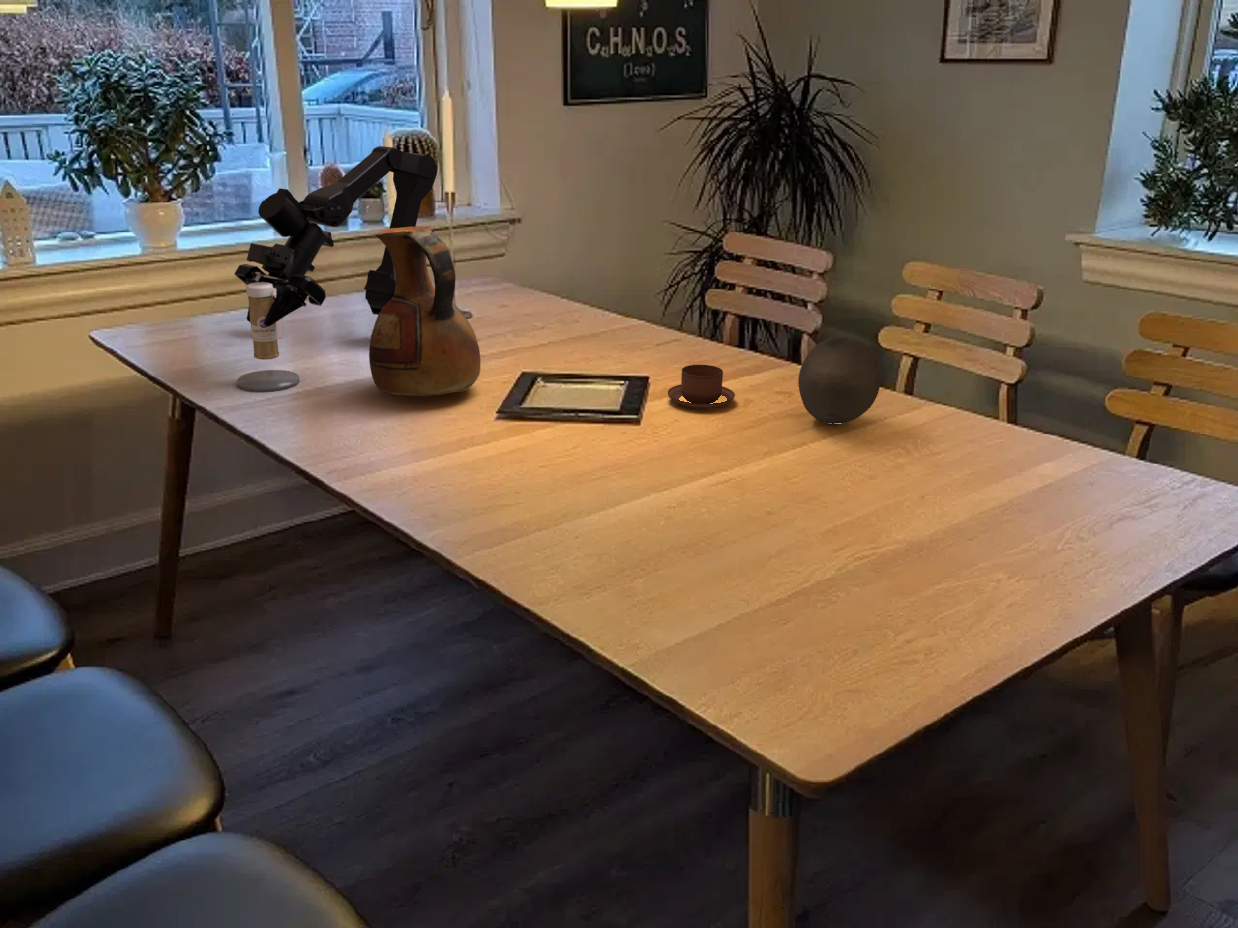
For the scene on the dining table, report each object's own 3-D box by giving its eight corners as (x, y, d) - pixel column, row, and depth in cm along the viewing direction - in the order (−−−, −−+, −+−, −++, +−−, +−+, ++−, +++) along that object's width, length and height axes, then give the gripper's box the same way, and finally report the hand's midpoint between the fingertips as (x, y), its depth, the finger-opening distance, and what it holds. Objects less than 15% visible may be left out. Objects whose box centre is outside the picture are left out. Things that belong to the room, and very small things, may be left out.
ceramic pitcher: (430, 369, 215) (423, 213, 204) (504, 391, 203) (501, 226, 192) (348, 392, 201) (336, 225, 190) (423, 417, 189) (414, 241, 178)
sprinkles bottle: (258, 361, 201) (250, 288, 196) (250, 355, 204) (242, 283, 199) (283, 358, 203) (276, 285, 198) (275, 352, 207) (267, 280, 201)
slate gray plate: (309, 376, 209) (308, 372, 209) (283, 393, 199) (283, 389, 199) (254, 372, 211) (253, 368, 211) (226, 389, 201) (225, 385, 201)
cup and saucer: (653, 402, 200) (654, 369, 198) (698, 389, 208) (699, 357, 206) (703, 418, 192) (705, 384, 190) (747, 404, 200) (750, 371, 198)
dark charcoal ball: (776, 420, 192) (783, 335, 186) (835, 406, 199) (843, 324, 194) (835, 444, 181) (844, 355, 175) (895, 429, 188) (905, 343, 183)
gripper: (237, 219, 203) (193, 290, 198) (307, 231, 193) (262, 306, 189) (275, 255, 212) (234, 324, 207) (344, 268, 202) (303, 341, 198)
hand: (257, 323), depth 200 cm, fingers closed on sprinkles bottle, 4 cm apart
